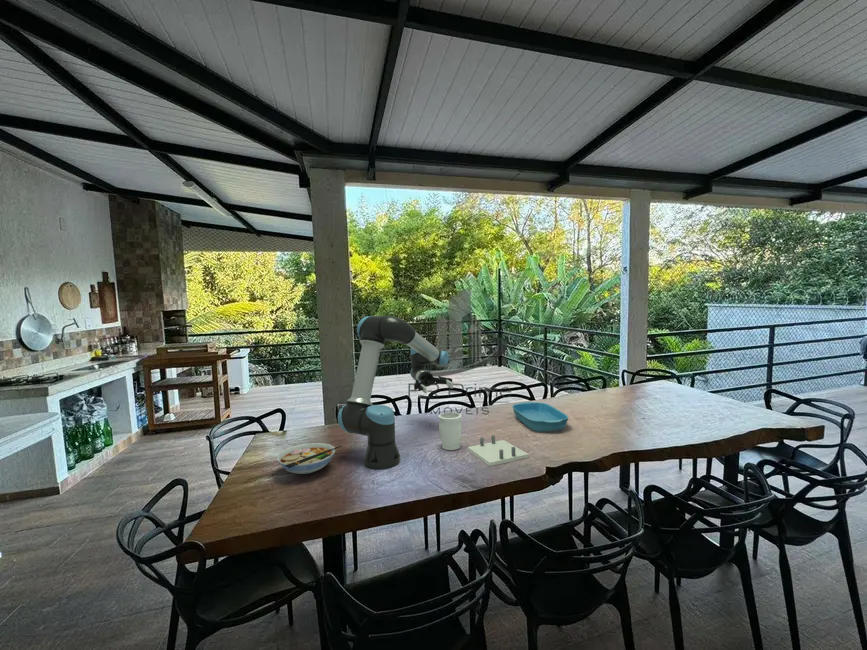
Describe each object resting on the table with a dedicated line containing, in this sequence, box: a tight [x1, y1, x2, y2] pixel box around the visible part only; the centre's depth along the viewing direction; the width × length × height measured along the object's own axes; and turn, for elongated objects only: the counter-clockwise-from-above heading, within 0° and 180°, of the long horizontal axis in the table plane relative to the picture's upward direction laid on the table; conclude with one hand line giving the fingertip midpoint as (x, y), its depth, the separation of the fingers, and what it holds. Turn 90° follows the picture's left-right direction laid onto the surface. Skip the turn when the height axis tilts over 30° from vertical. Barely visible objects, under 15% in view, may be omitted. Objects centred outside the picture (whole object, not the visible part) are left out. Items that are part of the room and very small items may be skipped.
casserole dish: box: [511, 401, 569, 433], centre depth 208 cm, size 37×22×7 cm, turn 10°
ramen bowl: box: [276, 442, 342, 475], centre depth 158 cm, size 25×23×8 cm
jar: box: [438, 411, 463, 451], centre depth 177 cm, size 11×10×15 cm
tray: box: [467, 434, 529, 467], centre depth 168 cm, size 19×19×5 cm
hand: (439, 388), depth 184 cm, fingers open, 13 cm apart
